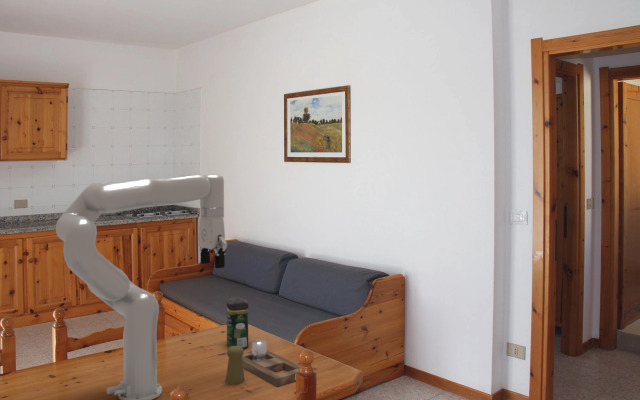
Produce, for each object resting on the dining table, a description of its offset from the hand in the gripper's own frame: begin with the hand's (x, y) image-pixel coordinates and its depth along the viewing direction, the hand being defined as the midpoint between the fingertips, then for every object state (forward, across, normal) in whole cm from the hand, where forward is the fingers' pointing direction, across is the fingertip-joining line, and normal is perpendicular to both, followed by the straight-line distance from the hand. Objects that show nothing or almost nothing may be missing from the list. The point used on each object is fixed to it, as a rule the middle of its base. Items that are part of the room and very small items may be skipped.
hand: (212, 265), depth 177 cm
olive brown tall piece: (+37, +8, +4) cm, 38 cm away
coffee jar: (+37, -21, +22) cm, 48 cm away
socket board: (+37, +7, +18) cm, 41 cm away
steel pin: (+37, 0, +18) cm, 41 cm away
